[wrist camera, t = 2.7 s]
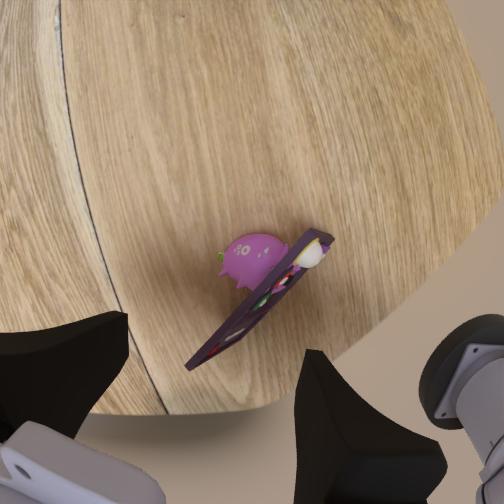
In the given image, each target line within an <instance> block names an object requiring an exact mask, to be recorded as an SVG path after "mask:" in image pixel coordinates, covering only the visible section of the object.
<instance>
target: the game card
mask: <svg viewBox="0 0 504 504" xmlns="http://www.w3.org/2000/svg"><path fill="white" fill-rule="evenodd" d="M312 240H313V241H312ZM334 240H335V238H334V237H333V236H332V235H330V234H328V233H325V232H322V231H319V230H316V229H313V228H310V229H308V230H307V231H306V232H305V234H304V235H303V236H302V237H301V238H300V239H299V240H298V241H297V243H296V244H295V245H294V246H293V247H292V248H291V249H290V251H289V246H288V244H287V243H286V245H284V244H283V243H282V242H281V241H280V240H278V239H277V238H275V237H273V236H271V235H268V234H250V235H246V236H243V237H241V238H239V239H237V240H236V241H234V242H233V243H232V244H231V245H230V246H229V247H228V248H227V250H226V252H224V253H223V252H221V253H220V252H219V255H218V258H219V259H220V260H221V261H222V262H223V266H224V267H223V269H222V271H221V272H220V274H219V276H220V277H221V276H225V275H229V277H231V278H232V279H233V280H235V281H236V282H238V285H237V289H239V288H241V287H244V286H246V287H247V288H249V289H250V290H252V291H253V292H252V293H251V294H250V295H249V296H248V297H247V298H246V299H245V300H244V302H243V303H242V304H241V305H240V306H239V307H238V308H237V309H236V310H235V311H234V313H233V314H232V315H231V316H230V317H229V318H228V319H227V320H226V321H225V322H224V323H223V324H222V326H221V327H220V328H219V329H218V330H217V331H216V332H215V333H214V334H213V335H212V336H211V337H210V338H209V340H208V341H207V342H206V343H205V344H204V345H203V346H202V347H201V348H200V349H199V350H198V351H197V352H196V353H195V355H194V356H193V357H192V358H191V359H190V360H189V361H188V362H187V363H186V364H185V365H184V366H185V367H186V368H187V369H188V371H191V370H193V369H195V368H196V367H198V366H200V365H201V364H203V363H204V362H206V361H208V360H209V359H211V358H213V357H214V356H216V355H218V354H219V353H221V352H222V351H224V350H226V349H227V348H229V347H230V346H232V345H234V344H235V343H237V342H238V341H240V340H241V339H242V338H243V337H244V336H245V335H246V334H247V333H248V332H249V331H250V330H251V329H252V328H253V327H254V326H255V325H256V324H257V323H258V322H259V321H260V320H261V319H262V318H263V317H264V316H265V315H266V314H267V312H268V311H269V310H270V309H272V307H273V306H274V305H275V304H276V303H277V302H278V301H279V300H280V299H281V298H282V297H283V296H284V295H285V294H286V292H287V291H288V290H289V289H290V288H291V287H292V286H293V285H294V284H295V283H296V282H297V281H298V280H299V279H300V277H301V276H302V275H303V274H304V273H305V272H306V271H307V270H308V269H309V268H310V267H314V266H315V265H317V264H318V263H319V262H320V260H321V259H323V258H324V257H325V256H326V255H325V253H326V252H327V251H328V250H329V249H330V247H329V246H330V245H331V243H332V242H333V241H334ZM318 241H324V242H323V243H322V244H321V245H320V244H319V242H318ZM294 260H295V261H294ZM298 265H299V266H298ZM299 267H300V268H299ZM293 271H297V272H296V273H295V272H293ZM294 273H295V274H294ZM293 274H294V275H293ZM276 292H277V293H276ZM273 293H276V295H275V296H274V297H273V298H272V299H271V300H270V301H269V302H268V303H266V304H264V303H265V302H266V300H267V299H268V298H269V297H270V295H271V294H273ZM263 304H264V305H263ZM248 310H249V312H248V313H246V312H247V311H248ZM245 313H246V314H245Z"/></svg>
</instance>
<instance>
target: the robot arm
mask: <svg viewBox="0 0 504 504" xmlns="http://www.w3.org/2000/svg"><path fill="white" fill-rule="evenodd" d="M475 348H476V349H475ZM474 349H475V350H474ZM473 350H474V351H473ZM128 356H129V344H128V314H127V313H123V312H119V311H110V312H106V313H102V314H99V315H96V316H92V317H89V318H86V319H83V320H80V321H76V322H73V323H69V324H65V325H62V326H58V327H54V328H49V329H44V330H37V331H29V332H15V333H0V504H166V497H165V494H164V493H163V491H162V489H161V487H160V486H159V484H158V483H157V481H156V480H155V479H153V478H152V477H151V476H149V475H148V474H147V473H146V472H145V471H143V470H142V469H141V468H138V467H137V466H134V465H132V464H130V463H128V462H126V461H124V460H122V459H120V458H117V457H114V456H112V455H109V454H107V453H104V452H101V451H99V450H97V449H94V448H92V447H89V446H87V445H85V444H82V443H80V442H78V441H75V440H74V438H75V436H76V434H77V432H78V430H79V428H80V427H81V425H82V423H83V421H84V420H85V418H86V416H87V415H88V413H89V412H90V410H91V409H92V407H93V406H94V405H95V403H96V402H97V401H98V400H99V398H100V397H101V396H102V395H103V393H104V392H105V391H106V389H107V388H108V387H109V386H110V384H111V383H112V382H113V381H114V379H115V378H116V377H117V375H118V374H119V373H120V371H121V369H122V368H123V366H124V364H125V362H126V360H127V358H128ZM295 394H296V395H295V405H294V417H295V433H296V449H297V471H296V484H295V494H294V503H293V504H428V503H427V500H426V499H427V498H428V497H429V495H430V494H431V493H432V492H433V491H434V490H435V488H436V487H437V486H438V485H439V483H440V482H441V481H442V479H443V478H444V476H445V474H446V472H447V468H448V466H447V461H446V459H445V457H444V454H443V452H442V450H441V447H440V445H439V443H438V442H437V441H435V440H432V439H430V438H427V437H424V436H422V435H419V434H417V433H415V432H412V431H410V430H408V429H406V428H404V427H402V426H400V425H399V424H397V423H395V422H394V421H392V420H390V419H389V418H387V417H386V416H384V415H383V414H381V413H380V412H378V411H377V410H376V409H374V408H373V407H372V406H371V405H369V404H368V403H367V402H366V401H365V400H364V399H362V398H361V397H360V396H359V395H358V394H357V393H356V392H355V391H354V390H353V389H352V387H351V386H349V384H348V383H347V382H346V381H345V380H344V379H343V377H342V376H341V375H340V374H339V373H338V371H337V370H336V369H335V368H334V366H333V365H332V363H331V362H330V361H329V359H328V358H327V357H326V355H325V354H324V353H323V351H319V350H311V349H306V353H305V357H304V361H303V365H302V369H301V372H300V376H299V380H298V383H297V387H296V393H295ZM434 417H435V418H437V419H440V418H459V420H460V422H461V424H462V425H463V427H464V429H465V431H466V432H467V434H468V436H469V438H470V440H471V442H472V443H473V445H474V447H475V449H476V451H477V453H478V455H479V457H480V459H481V461H482V463H483V464H484V468H483V470H482V471H481V472H480V473H479V475H480V478H481V480H482V482H483V484H481V485H480V486H479V488H478V490H477V492H476V504H504V345H497V344H480V343H470V344H468V345H467V346H466V348H465V350H464V353H463V355H462V357H461V360H460V362H459V364H458V366H457V368H456V371H455V373H454V375H453V377H452V379H451V381H450V383H449V385H448V387H447V389H446V391H445V393H444V395H443V397H442V399H441V401H440V403H439V405H438V407H437V409H436V411H435V412H434Z"/></svg>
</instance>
